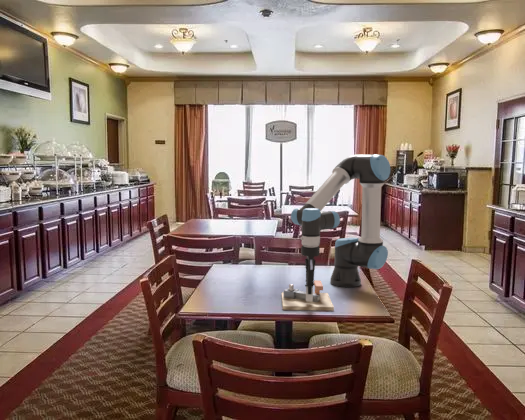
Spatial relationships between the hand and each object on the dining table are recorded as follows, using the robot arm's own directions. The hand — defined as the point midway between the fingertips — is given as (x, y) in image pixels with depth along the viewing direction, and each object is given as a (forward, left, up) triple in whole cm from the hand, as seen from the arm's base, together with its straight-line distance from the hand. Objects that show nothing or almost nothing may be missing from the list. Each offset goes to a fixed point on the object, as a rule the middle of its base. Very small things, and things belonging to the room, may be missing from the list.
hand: (309, 300), depth 195 cm
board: (+1, -6, -3) cm, 7 cm away
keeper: (-5, -11, -1) cm, 12 cm away
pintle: (+7, -9, -1) cm, 12 cm away
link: (+2, -7, -1) cm, 7 cm away
